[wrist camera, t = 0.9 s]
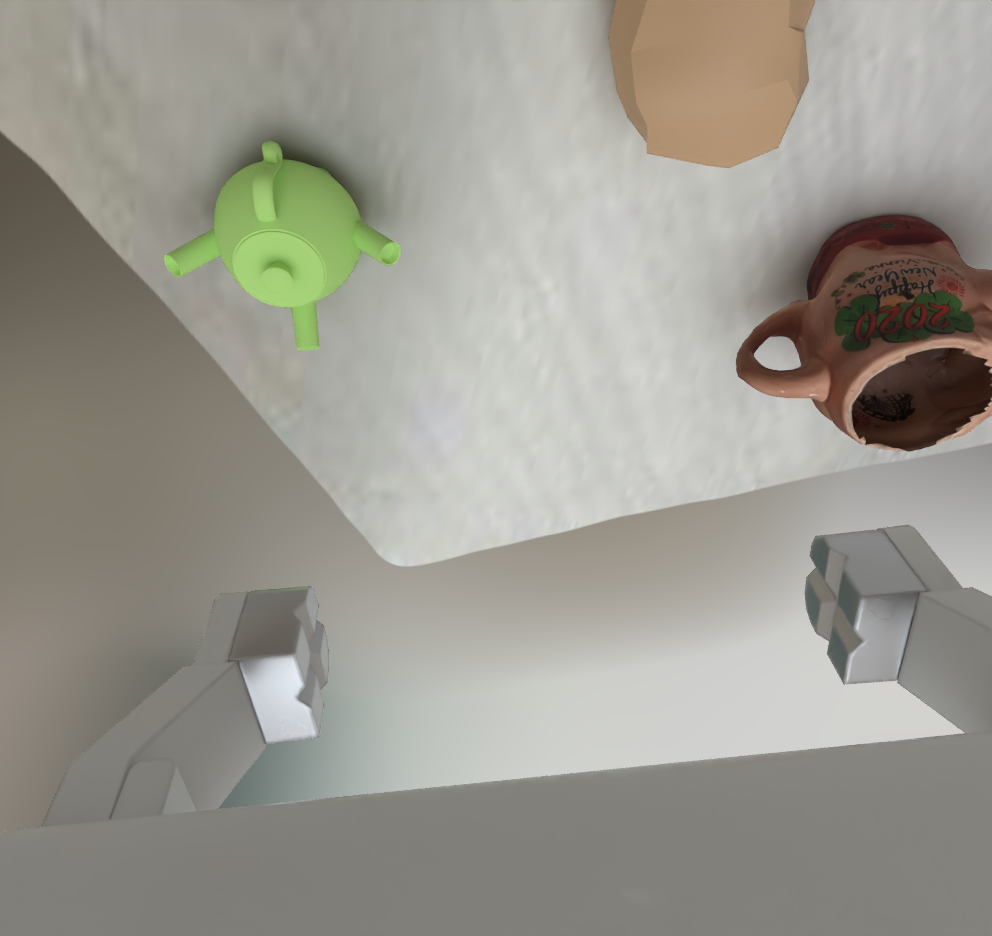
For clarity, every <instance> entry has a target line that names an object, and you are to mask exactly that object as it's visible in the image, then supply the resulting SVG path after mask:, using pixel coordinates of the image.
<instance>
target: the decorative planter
mask: <svg viewBox="0 0 992 936" xmlns="http://www.w3.org/2000/svg"><path fill="white" fill-rule="evenodd" d="M807 290H808V298H809V300H808V301H803V300H798V301H795V302H793V303H791V304H790V305H788V306H786V307H784V308H783V309H781V310H779V311H777V312H776V313H774V314H772V315H771V316H769V317H768V318H767V319H766V320H764V321H763V322H762V323H761V324H760V325H758V326H757V327H756V328H755V329H754V330H753V332H752V333H751V334H750V336H749V337H748V338H747V339H746V340H745V341H744V342H743V344H742V347H741V348H740V349H739V352H738V353H737V358H736V371H737V374H738V377H740V378H741V379H742V380H744V381H745V382H746V383H748V384H749V385H750V386H752V387H753V388H755V389H756V390H758V391H760V392H762V393H764V394H767V395H771V396H776V397H784V398H811V399H812V401H813V402H814V404H815V406H816V407H817V409H818V410H819V411H820V412H821V413H822V414H823V415H824V416H826V417H827V418H828V419H830V420H831V421H833V423H834V424H835V425H836V426H837V427H838V428H839V429H840V430H841V431H843V432H844V433H845V434H847V435H848V436H850V437H851V438H853V439H854V440H855V441H857V442H859V443H861V444H864V445H868V446H871V447H875V448H879V449H884V450H905V451H913V450H919V449H923V448H926V447H930V446H933V445H935V444H938V443H941V442H944V441H946V440H949V439H953V438H956V437H960V436H963V435H965V434H967V433H968V432H970V431H971V430H972V429H974V428H975V427H976V426H977V425H979V424H980V423H981V422H983V421H984V420H985V419H987V418H988V417H990V416H992V270H986V269H974V268H971V267H969V266H967V265H966V264H965V263H964V262H963V260H962V259H961V257H960V255H959V253H958V251H957V249H956V247H955V245H954V243H953V242H952V240H951V239H950V238H949V237H948V235H947V234H945V233H944V232H943V231H942V230H941V229H939V228H938V227H936V226H935V225H933V224H931V223H930V222H928V221H925V220H923V219H920V218H917V217H910V216H882V217H876V218H872V219H868V220H864V221H860V222H857V223H854V224H851V225H849V226H846V227H844V228H842V229H841V230H839V231H837V232H836V233H835V234H834V235H832V236H831V237H830V238H829V239H828V240H827V241H826V243H825V244H824V245H823V247H822V248H821V250H820V252H819V254H818V256H817V258H816V260H815V262H814V264H813V266H812V269H811V271H810V273H809V276H808V280H807ZM777 336H784V337H788V338H790V339H791V340H792V341H793V343H794V345H795V347H796V349H797V352H798V354H799V358H800V362H801V367H799V368H796V369H793V370H785V371H778V370H772V369H768V368H766V367H764V366H762V365H761V364H760V363H759V362H758V361H757V360H756V359H755V358H754V353H755V351H756V350H757V349H758V347H759V346H760V345H761V344H762V343H763V342H764V341H765V340H766V339H767V338H769V337H777Z"/></svg>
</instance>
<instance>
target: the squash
mask: <svg viewBox="0 0 992 936" xmlns="http://www.w3.org/2000/svg"><path fill="white" fill-rule="evenodd" d="M814 3H815V2H814V0H616V3H615V7H614V12H613V17H612V22H611V27H610V32H609V37H608V39H609V45H610V51H611V57H612V63H613V69H614V75H615V81H616V87H617V92H618V94H619V97H620V99H621V102H622V104H623V107H624V109H625V112H626V114H627V117H628V118H629V120H630V121H631V122H632V124H633V125H634V126H635V128H636V129H637V130H638V132H639V133H640V134H641V136H642V137H643V138H644V140H645V141H646V142H647V153H648V154H653V155H658V156H663V157H668V158H672V159H677V160H682V161H687V162H692V163H697V164H702V165H707V166H715V167H724V168H730V167H733V166H735V165H738V164H740V163H742V162H745V161H747V160H750V159H752V158H754V157H757V156H759V155H762V154H764V153H766V152H769V151H771V150H774V149H776V148H778V146H779V144H780V142H781V140H782V138H783V136H784V133H785V131H786V129H787V127H788V125H789V123H790V120H791V118H792V116H793V114H794V112H795V110H796V107H797V105H798V103H799V101H800V99H801V96H802V94H803V92H804V90H805V88H806V86H807V83H808V81H809V75H808V64H807V53H806V41H805V27H806V25H807V22H808V19H809V17H810V14H811V11H812V8H813V6H814Z"/></svg>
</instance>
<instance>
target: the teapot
mask: <svg viewBox="0 0 992 936" xmlns="http://www.w3.org/2000/svg"><path fill="white" fill-rule="evenodd" d="M262 152H263V156H264V160H263V161H261V162H257V163H254V164H251V165H249V166H247V167H245V168H243V169H241V170H240V171H238V172H237V173H235V174H234V175H233V176H232V177H231V178H230V179H229V180H228V181H227V182H226V183H225V185H224V186H223V188H222V190H221V191H220V194H219V196H218V199H217V202H216V207H215V211H214V229H212V230H210V231H209V232H207V233H205V234H203V235H201V236H199V237H198V238H196V239H194V240H192V241H190V242H189V243H187V244H185V245H183V246H181V247H179V248H178V249H176V250H174V251H172V252H170V253H168V254H167V255H165V256H164V262H165V264H166V266H167V268H168V270H169V271H170V272H171V273H172V274H173V275H174V276H176V277H181V276H183V275H185V274H187V273H189V272H190V271H192V270H194V269H196V268H198V267H200V266H202V265H204V264H205V263H207V262H209V261H211V260H213V259H215V258H217V257H219V256H221V258H222V261H223V262H224V264H225V266H226V268H227V269H228V271H229V272H230V274H231V275H232V276H233V278H234V279H235V280H236V281H237V283H238V284H239V285H240V286H241V287H242V288H243V289H244V290H245V291H246V292H248V293H249V294H250V295H252V296H253V297H255V298H256V299H258V300H260V301H262V302H264V303H267V304H270V305H273V306H278V307H291V309H292V316H293V324H294V331H295V338H296V346H297V349H298V350H313V349H318V348H319V335H318V322H317V310H316V301H318V300H320V299H322V298H324V297H326V296H328V295H330V294H331V293H333V292H334V291H335V290H336V289H338V288H339V287H340V286H341V285H342V284H343V283H344V282H345V281H346V279H347V278H348V277H349V276H350V274H351V273H352V271H353V269H354V267H355V266H356V264H357V262H358V259H359V256H360V254H361V250H362V251H363V252H365V253H366V254H368V255H370V256H371V257H373V258H374V259H376V260H378V261H379V262H381V263H382V264H384V265H386V266H390V265H393V264H394V263H396V262H397V261H398V259H399V257H400V254H401V249H400V246H399V245H398V244H397V243H395V242H394V241H392V240H390V239H389V238H387V237H385V236H384V235H382V234H380V233H379V232H377V231H375V230H374V229H372V228H370V227H369V226H367V225H365V224H364V223H362V221H361V217H360V214H359V211H358V209H357V207H356V205H355V203H354V201H353V200H352V198H351V196H350V195H349V194H348V192H347V191H346V190H345V189H344V188H343V187H342V186H341V184H340V183H339V182H337V181H336V180H335V179H334V178H332V177H331V175H330V174H329V172H328V171H326V170H325V169H323V168H316V167H314V166H311V165H308V164H306V163H302V162H298V161H293V160H285V159H282V151H281V148H280V146H279V145H278V144H277V143H276V142H272V141H267V142H264V143H263V144H262Z"/></svg>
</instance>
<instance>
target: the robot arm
mask: <svg viewBox="0 0 992 936" xmlns="http://www.w3.org/2000/svg"><path fill="white" fill-rule="evenodd" d="M810 557H811V559H812V561H813V562H814V564H815V566H816V568H815V569H814V570H813V571H812V572H811V573H810V574H809V575H808V576H807V578H806V587H805V600H806V609H807V613H808V616H809V619H810V622H811V624H812V626H813V628H814V630H815V632H816V634H818V635H820V636H821V637H823V638H824V639H826V640H828V641H829V645H828V651H827V655H828V656H829V658H830V660H831V662H832V664H833V665H834V667H835V669H836V671H837V673H838V675H839V676H840V678H841V680H842V682H843V684H856V683H869V682H882V681H896V680H898V682H897V683H898V684H900V685H901V686H903V687H904V688H905V689H906V690H908V691H909V692H910V693H912V694H913V695H915V696H916V697H917V698H919V699H920V700H921V701H923V702H924V703H925V704H927V705H928V706H930V707H931V708H932V709H933V710H935V711H936V712H938V713H939V714H940V715H942V716H943V717H944V718H946V719H947V720H948V721H950V722H951V723H952V724H954V725H955V726H957V727H958V728H959V729H961V730H962V731H963V732H965V733H964V734H954V735H946V736H935V737H926V738H916V739H907V740H897V741H888V742H878V743H869V744H858V745H848V746H839V747H828V748H818V749H808V750H798V751H788V752H779V753H768V754H758V755H748V756H738V757H729V758H718V759H708V760H699V761H688V762H678V763H668V764H659V765H649V766H639V767H630V768H619V769H610V770H601V771H590V772H580V773H571V774H561V775H551V776H542V777H532V778H523V779H512V780H502V781H493V782H483V783H473V784H464V785H454V786H443V787H434V788H423V789H413V790H404V791H394V792H384V793H374V794H364V795H354V796H344V797H335V798H324V799H315V800H305V801H295V802H285V803H275V804H265V805H255V806H245V807H235V808H225V809H218V808H219V806H220V805H221V804H222V802H223V801H224V800H225V799H226V797H227V796H228V795H229V794H230V792H231V791H232V790H233V788H234V787H235V786H236V785H237V783H238V782H239V781H240V779H241V778H242V777H243V776H244V775H245V773H246V772H247V771H248V769H249V768H250V767H251V766H252V764H253V763H254V762H255V761H256V759H257V758H258V756H259V755H260V754H261V753H262V752H263V750H264V749H265V748H266V745H265V744H270V743H277V742H286V741H293V740H302V739H309V738H317V737H319V735H320V729H321V721H322V715H323V708H324V702H323V698H322V694H321V689H322V688H323V687H324V686H325V685H326V683H327V681H328V672H329V649H328V641H327V635H326V631H325V627H324V625H323V624H321V623H320V622H319V621H317V613H318V608H319V604H318V600H317V597H316V593H315V590H314V589H313V588H312V587H311V586H308V587H294V588H282V589H269V590H255V591H251V592H237V593H224V594H220V595H219V596H218V597H217V598H216V599H215V600H214V603H213V606H212V609H211V612H210V615H209V618H208V621H207V624H206V627H205V630H204V633H203V636H202V639H201V642H200V645H199V648H198V651H197V654H196V657H195V660H194V663H193V665H192V666H184V667H183V668H181V669H180V670H179V671H178V672H177V673H176V674H174V676H172V677H171V678H170V679H169V680H167V681H166V682H165V683H164V684H163V685H162V686H160V687H159V688H158V689H157V690H156V691H155V692H153V693H152V694H151V695H150V696H149V697H147V698H146V699H145V700H144V701H143V702H142V703H141V704H139V705H138V706H137V707H136V708H135V709H133V710H132V712H130V713H129V714H128V715H126V716H125V717H124V718H123V719H122V720H121V721H120V722H118V723H117V724H116V725H115V726H114V727H112V728H111V729H110V730H109V731H108V732H107V733H105V734H104V735H103V736H102V737H101V738H100V739H98V740H97V741H96V742H95V743H94V744H92V745H91V746H90V747H89V748H88V749H87V750H85V751H84V752H83V753H82V754H81V755H80V756H78V757H77V758H76V759H75V760H74V761H73V762H71V763H70V764H69V765H68V766H67V769H66V771H65V773H64V775H63V778H62V780H61V782H60V785H59V787H58V789H57V792H56V793H55V796H54V798H53V800H52V803H51V805H50V807H49V809H48V812H47V814H46V816H45V819H44V820H43V823H42V825H41V827H38V828H27V829H17V830H7V831H0V936H992V596H990V595H987V594H985V593H983V592H981V591H979V590H977V589H975V588H973V587H970V588H963V587H962V586H961V585H960V584H959V582H958V581H957V580H956V579H955V577H953V575H952V574H951V572H950V571H949V570H948V569H947V568H946V566H945V565H944V564H943V562H942V561H941V560H940V559H939V558H938V556H937V555H936V554H935V552H934V551H933V550H932V549H931V548H930V546H928V544H927V543H926V541H925V540H924V539H923V538H922V536H921V535H920V534H919V533H918V531H917V530H916V529H915V528H914V527H912V526H910V525H903V526H895V527H887V528H879V529H877V530H867V531H859V532H849V533H840V534H830V535H820V536H816V537H815V538H814V540H813V542H812V545H811V552H810Z"/></svg>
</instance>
